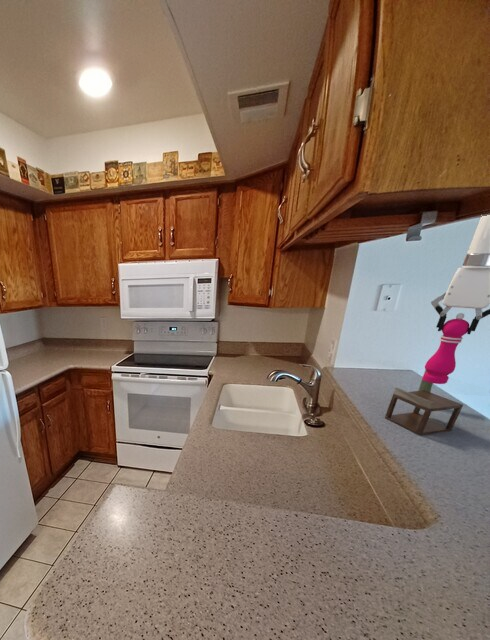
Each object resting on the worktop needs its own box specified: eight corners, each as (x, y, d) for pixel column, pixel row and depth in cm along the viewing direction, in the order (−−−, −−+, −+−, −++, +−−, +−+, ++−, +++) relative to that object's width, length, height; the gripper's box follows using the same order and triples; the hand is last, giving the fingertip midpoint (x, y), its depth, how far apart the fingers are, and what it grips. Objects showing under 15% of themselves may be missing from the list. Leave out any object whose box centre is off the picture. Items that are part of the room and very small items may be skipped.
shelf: (414, 414, 116) (426, 384, 110) (451, 430, 104) (466, 398, 99) (384, 418, 113) (395, 387, 108) (418, 435, 102) (432, 402, 96)
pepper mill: (447, 386, 97) (477, 316, 88) (418, 381, 102) (443, 313, 92) (449, 380, 102) (478, 312, 92) (422, 375, 106) (447, 310, 97)
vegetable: (412, 404, 123) (433, 351, 113) (412, 401, 126) (432, 349, 116) (427, 407, 120) (449, 353, 111) (426, 403, 124) (448, 350, 114)
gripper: (527, 262, 84) (493, 334, 92) (442, 261, 94) (420, 326, 102) (528, 262, 79) (493, 338, 87) (439, 262, 89) (416, 330, 97)
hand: (454, 331), depth 95 cm, fingers closed on pepper mill, 6 cm apart
